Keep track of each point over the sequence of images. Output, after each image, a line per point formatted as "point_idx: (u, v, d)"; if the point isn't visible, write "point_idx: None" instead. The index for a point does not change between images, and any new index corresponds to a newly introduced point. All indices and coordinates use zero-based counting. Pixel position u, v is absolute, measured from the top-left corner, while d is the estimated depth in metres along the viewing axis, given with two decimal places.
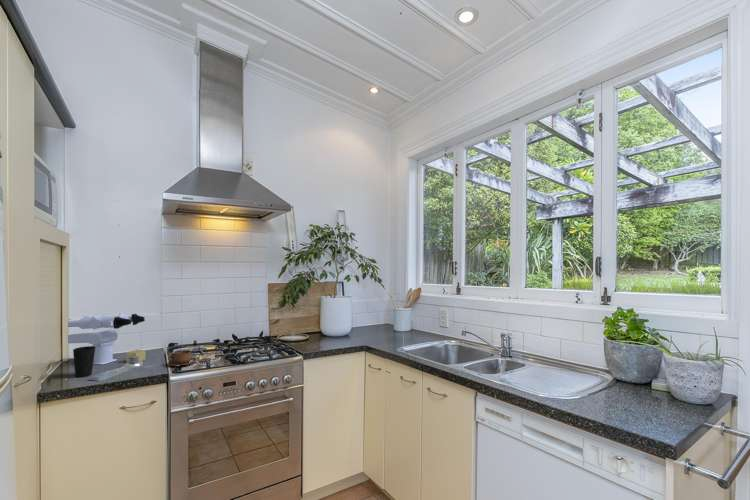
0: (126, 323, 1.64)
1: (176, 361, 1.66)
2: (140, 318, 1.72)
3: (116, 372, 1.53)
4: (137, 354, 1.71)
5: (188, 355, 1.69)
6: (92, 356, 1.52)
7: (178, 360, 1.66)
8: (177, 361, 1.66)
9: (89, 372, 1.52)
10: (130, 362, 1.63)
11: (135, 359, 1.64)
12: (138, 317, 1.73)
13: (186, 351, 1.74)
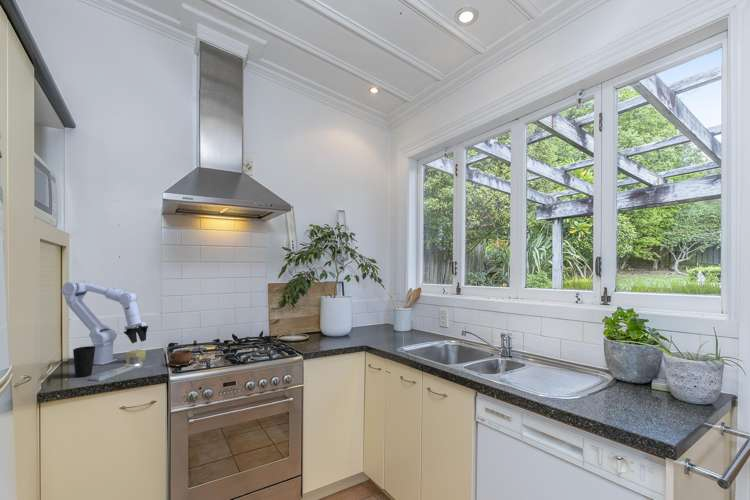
0: (142, 337, 1.71)
1: (176, 361, 1.67)
2: (135, 339, 1.75)
3: (116, 372, 1.53)
4: (137, 354, 1.71)
5: (188, 355, 1.69)
6: (92, 356, 1.52)
7: (178, 360, 1.66)
8: (177, 361, 1.66)
9: (89, 372, 1.52)
10: (130, 362, 1.63)
11: (135, 359, 1.64)
12: (135, 336, 1.76)
13: (186, 351, 1.74)
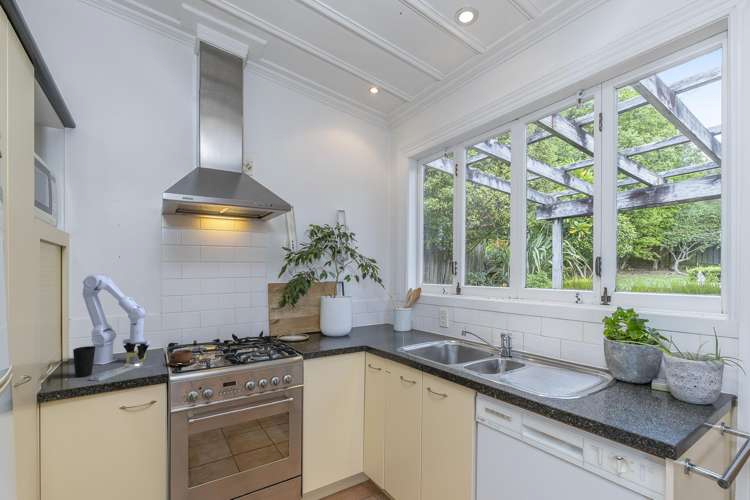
0: (141, 355, 1.72)
1: (176, 361, 1.67)
2: None
3: (116, 372, 1.53)
4: (137, 354, 1.71)
5: (188, 355, 1.69)
6: (92, 356, 1.52)
7: (178, 360, 1.67)
8: (177, 361, 1.67)
9: (89, 372, 1.52)
10: (130, 362, 1.63)
11: (135, 359, 1.64)
12: None
13: (187, 351, 1.74)
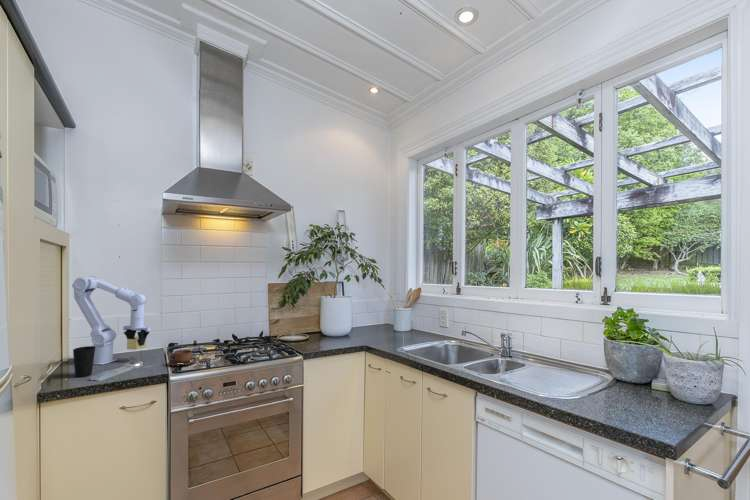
0: (141, 342, 1.73)
1: (177, 361, 1.67)
2: None
3: (116, 372, 1.53)
4: (137, 340, 1.71)
5: (188, 355, 1.69)
6: (92, 356, 1.52)
7: (178, 360, 1.67)
8: (177, 361, 1.67)
9: (89, 372, 1.52)
10: (130, 362, 1.63)
11: (135, 359, 1.64)
12: None
13: (187, 351, 1.74)
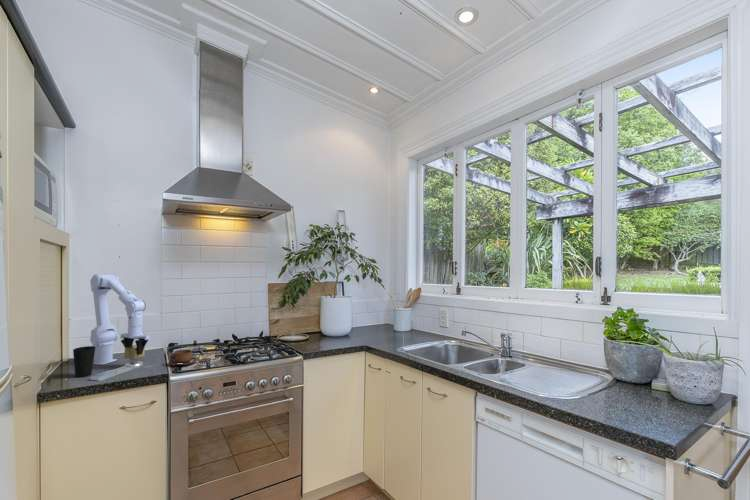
0: (139, 351, 1.63)
1: (177, 361, 1.67)
2: None
3: (116, 372, 1.53)
4: (136, 349, 1.62)
5: (189, 355, 1.69)
6: (92, 356, 1.52)
7: (179, 360, 1.67)
8: (178, 361, 1.67)
9: (89, 372, 1.52)
10: (130, 362, 1.63)
11: (135, 359, 1.64)
12: None
13: (187, 350, 1.74)
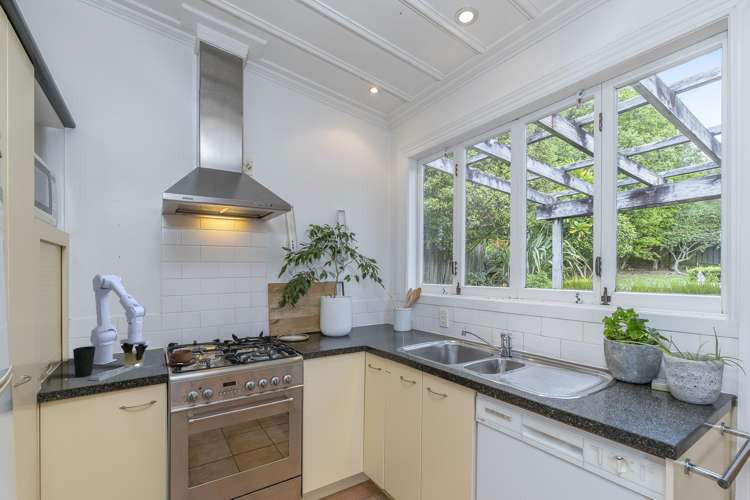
0: (139, 356, 1.63)
1: (177, 361, 1.67)
2: None
3: (116, 372, 1.53)
4: (135, 355, 1.62)
5: (189, 355, 1.70)
6: (92, 356, 1.52)
7: (179, 360, 1.67)
8: (178, 361, 1.67)
9: (89, 372, 1.52)
10: None
11: None
12: None
13: (187, 350, 1.74)
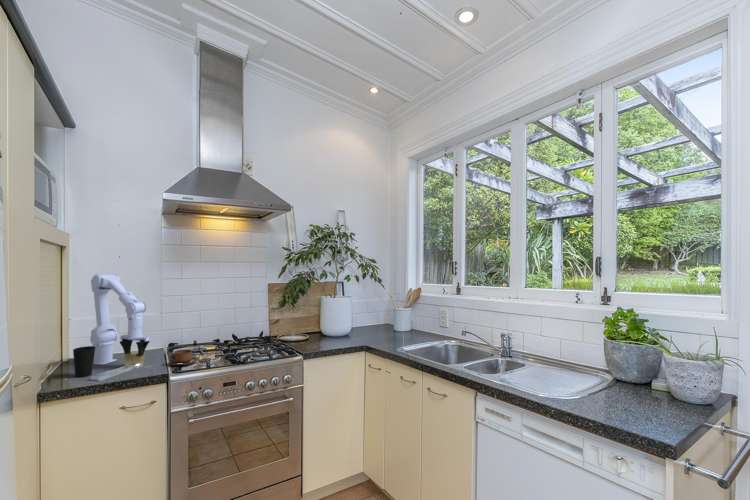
0: (140, 352, 1.63)
1: (177, 361, 1.67)
2: (128, 351, 1.66)
3: (116, 372, 1.53)
4: (135, 355, 1.62)
5: (189, 355, 1.70)
6: (92, 356, 1.52)
7: (179, 360, 1.67)
8: (178, 361, 1.67)
9: (89, 372, 1.52)
10: None
11: None
12: (129, 348, 1.66)
13: (187, 350, 1.74)
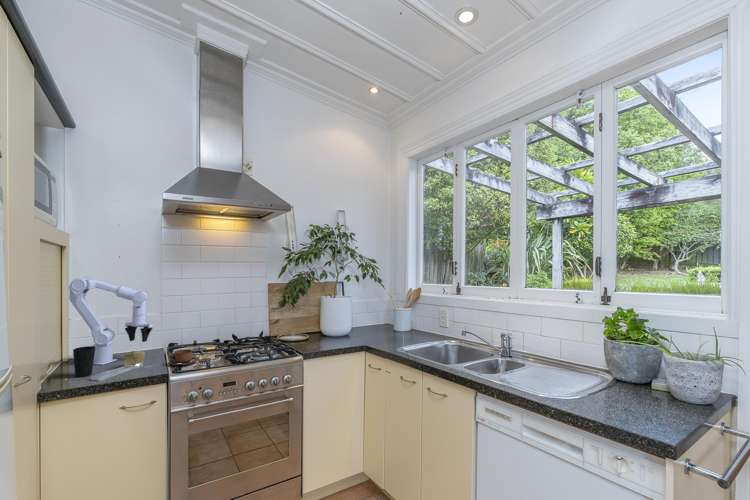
0: (144, 338, 1.76)
1: (177, 360, 1.67)
2: (133, 337, 1.78)
3: (116, 372, 1.53)
4: (136, 355, 1.62)
5: (189, 354, 1.70)
6: (92, 356, 1.52)
7: (179, 359, 1.67)
8: (178, 360, 1.67)
9: (89, 372, 1.52)
10: None
11: None
12: (134, 334, 1.79)
13: (188, 350, 1.75)
